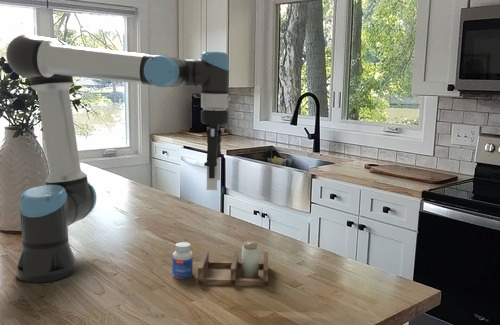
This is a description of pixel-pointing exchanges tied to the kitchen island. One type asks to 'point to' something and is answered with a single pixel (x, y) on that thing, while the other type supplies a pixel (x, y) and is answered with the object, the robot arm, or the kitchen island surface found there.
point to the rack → (229, 272)
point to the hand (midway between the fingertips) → (213, 184)
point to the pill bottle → (182, 261)
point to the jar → (250, 260)
